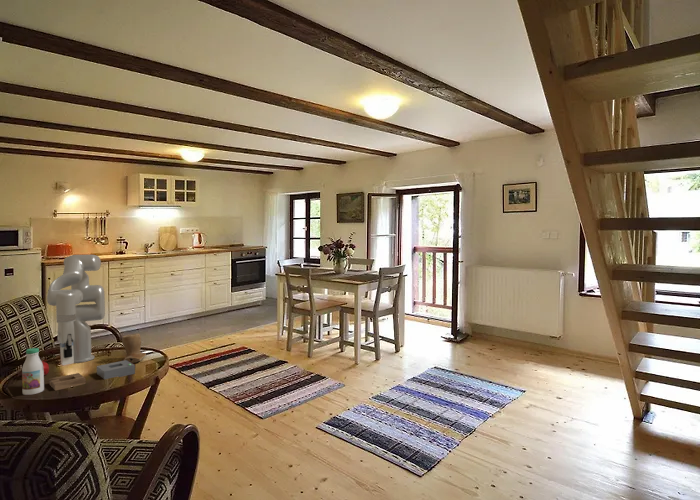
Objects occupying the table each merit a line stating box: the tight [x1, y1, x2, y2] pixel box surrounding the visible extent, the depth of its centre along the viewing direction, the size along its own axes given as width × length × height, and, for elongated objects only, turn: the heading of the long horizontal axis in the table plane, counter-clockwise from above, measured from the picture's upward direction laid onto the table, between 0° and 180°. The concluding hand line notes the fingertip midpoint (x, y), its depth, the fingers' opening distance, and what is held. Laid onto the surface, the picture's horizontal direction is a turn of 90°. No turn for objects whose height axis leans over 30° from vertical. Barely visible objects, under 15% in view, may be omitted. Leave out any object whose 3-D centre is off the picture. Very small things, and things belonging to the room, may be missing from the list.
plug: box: [59, 341, 75, 366], centre depth 194 cm, size 3×5×11 cm
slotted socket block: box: [48, 372, 87, 391], centre depth 194 cm, size 12×12×3 cm
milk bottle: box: [21, 347, 45, 396], centre depth 184 cm, size 8×8×20 cm
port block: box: [96, 359, 136, 380], centre depth 210 cm, size 12×14×5 cm
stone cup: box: [121, 332, 147, 364], centre depth 233 cm, size 15×12×15 cm
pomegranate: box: [40, 358, 50, 377], centre depth 207 cm, size 10×10×9 cm
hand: (67, 356), depth 194 cm, fingers closed on plug, 3 cm apart
